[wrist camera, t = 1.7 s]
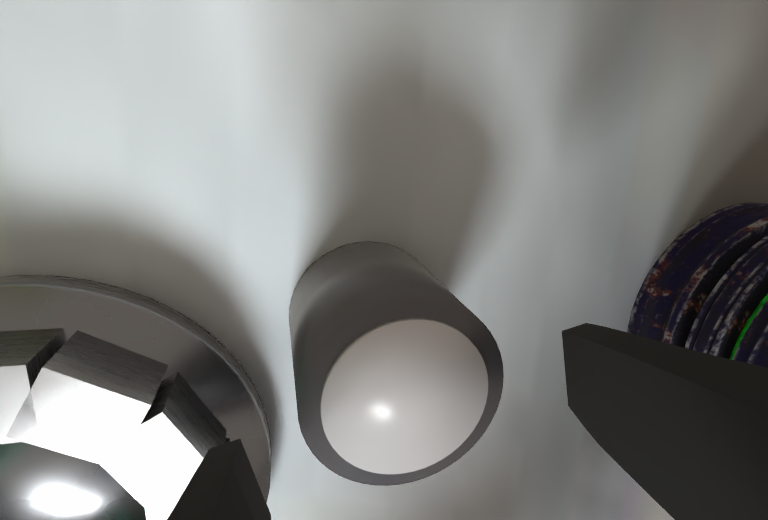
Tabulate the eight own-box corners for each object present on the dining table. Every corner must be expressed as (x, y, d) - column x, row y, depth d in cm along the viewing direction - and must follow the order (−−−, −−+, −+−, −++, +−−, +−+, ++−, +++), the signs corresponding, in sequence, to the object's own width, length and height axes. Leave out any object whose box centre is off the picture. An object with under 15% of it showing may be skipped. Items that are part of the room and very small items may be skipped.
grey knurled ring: (339, 379, 16) (354, 435, 13) (165, 655, 17) (145, 758, 14) (-109, 186, 11) (-236, 208, 8) (-289, 584, 13) (-446, 713, 10)
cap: (461, 283, 16) (545, 354, 11) (386, 399, 16) (434, 514, 12) (339, 213, 14) (375, 260, 9) (260, 344, 15) (255, 453, 10)
